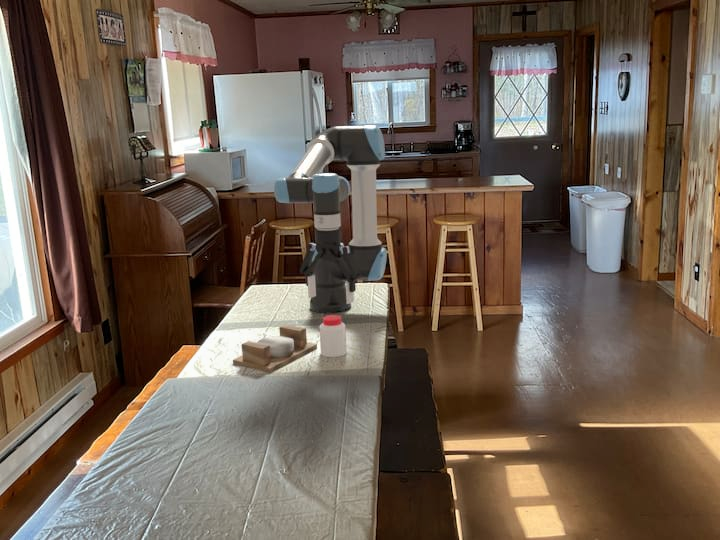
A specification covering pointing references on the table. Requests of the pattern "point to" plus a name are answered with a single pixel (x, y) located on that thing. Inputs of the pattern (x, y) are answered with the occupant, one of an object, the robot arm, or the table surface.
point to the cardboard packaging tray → (275, 349)
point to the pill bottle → (333, 336)
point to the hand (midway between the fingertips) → (330, 299)
